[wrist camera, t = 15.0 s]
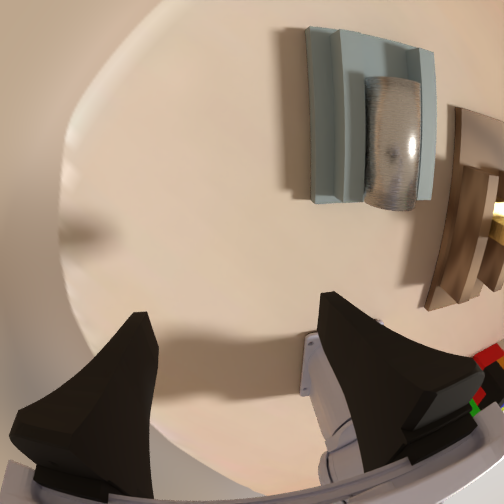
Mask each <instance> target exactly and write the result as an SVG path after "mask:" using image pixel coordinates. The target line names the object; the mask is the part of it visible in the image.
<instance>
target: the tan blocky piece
mask: <svg viewBox="0 0 504 504" xmlns="http://www.w3.org/2000/svg"><path fill="white" fill-rule="evenodd" d="M489 237H491V238H492V239H494V240H495V241H497V242H498V243H500V244H501V245H503V246H504V199H503V198H500V197H498V196H496V201H495V207H494V212H493V217H492V222H491V227H490V231H489Z"/></svg>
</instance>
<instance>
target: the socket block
mask: <svg viewBox="0 0 504 504" xmlns="http://www.w3.org/2000/svg"><path fill="white" fill-rule="evenodd" d="M496 196H498V197H500V198H503V199H504V122H501V121H499V120H496V119H493V118H491V117H488V116H485V115H482V114H479V113H476V112H473V111H470V110H466V109H463V108H456V107H455V147H454V161H453V172H452V182H451V190H450V197H449V204H448V211H447V217H446V222H445V228H444V233H443V238H442V243H441V247H440V252H439V256H438V260H437V264H436V268H435V272H434V276H433V280H432V283H431V287H430V290H429V294H428V297H427V300H426V303H425V307H424V308H425V309H426V310H427V311H428V312H429V311H432V310H436V309H439V308H443V307H446V306H449V305H453V304H456V303H458V304H461V303H464V302H467V301H469V299H471V298H474V297H477V296H479V295H480V292H481V289H482V286H483V283H484V284H485V285H486V286H487V287H488V288H489V289H491V290H492V291H493V292H495V291H498V290H501V288H502V285H503V283H504V246H503V245H501V244H500V243H498V242H497V241H495V240H494V239H492V238H491V237H489V231H490V227H491V222H492V217H493V212H494V207H495V201H496Z"/></svg>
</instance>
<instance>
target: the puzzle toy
mask: <svg viewBox="0 0 504 504" xmlns="http://www.w3.org/2000/svg"><path fill="white" fill-rule="evenodd" d="M473 359H474V360H475V361H476V363H477V364H478V365H479V366H480V368H481V369H482V370H483V372H484V374H485V377H484V380H483V383H482V385H481V386H480V388H479V389H478V391H477V392H476V394H475V395H474V396H473V398H472V399H471V401H470V402H469V403H470V405H471V406H472V411H471V412H470V414H471V415H472V417H474V416H475V415H476V414H477V413H479V412H480V411H481V410H483V409H484V408H486V407H487V406H489V405H490V404H492V403H493V402H496V403H497V404H498V405H499V407H500V408H501V410H502V411H503V410H504V339H503V340H501V341H499V342H497V343H496V344H494V345H492V346H490V347H488V348H487V349H485V350H483V351H481V352H479V353H477V354H475V355H474V357H473Z"/></svg>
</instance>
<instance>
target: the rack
mask: <svg viewBox="0 0 504 504" xmlns="http://www.w3.org/2000/svg"><path fill="white" fill-rule="evenodd" d="M305 36H306V49H307V63H308V80H309V102H310V135H311V201H312V202H313V203H315V204H327V203H352V202H364V200H363V195H364V178H365V151H366V102H365V78H366V77H373V76H385V77H397V78H403V79H408V80H413V81H416V82H418V83H420V88H421V141H420V160H419V173H418V184H417V194H416V200H431V196H432V188H433V178H434V167H435V154H436V132H437V96H436V75H435V62H434V52H431V51H428V50H425V49H422V48H416V47H413V46H409V45H406V44H402V43H399V42H395V41H391V40H387V39H383V38H379V37H374V36H370V35H365V34H361V33H359V32H354V31H348V30H342V29H339V30H336V29H329V28H321V27H312V26H309V27H308V28H307V29H306V30H305Z"/></svg>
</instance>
